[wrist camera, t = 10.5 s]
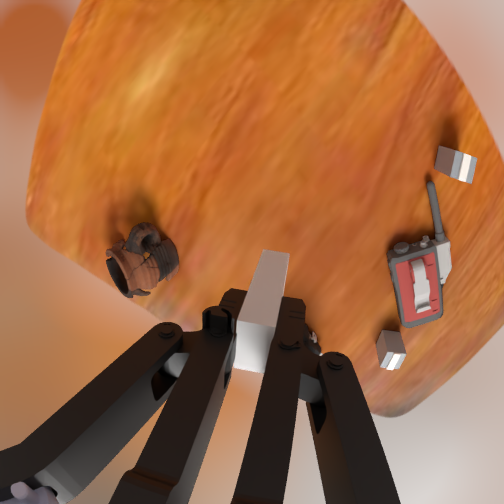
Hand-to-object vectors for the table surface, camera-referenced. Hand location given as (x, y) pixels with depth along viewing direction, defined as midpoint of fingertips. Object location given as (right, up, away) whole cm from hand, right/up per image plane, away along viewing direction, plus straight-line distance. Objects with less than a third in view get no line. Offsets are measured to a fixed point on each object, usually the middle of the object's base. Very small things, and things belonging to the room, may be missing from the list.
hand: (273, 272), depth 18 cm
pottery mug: (-16, +2, +26) cm, 31 cm away
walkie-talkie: (+21, +1, +20) cm, 29 cm away
